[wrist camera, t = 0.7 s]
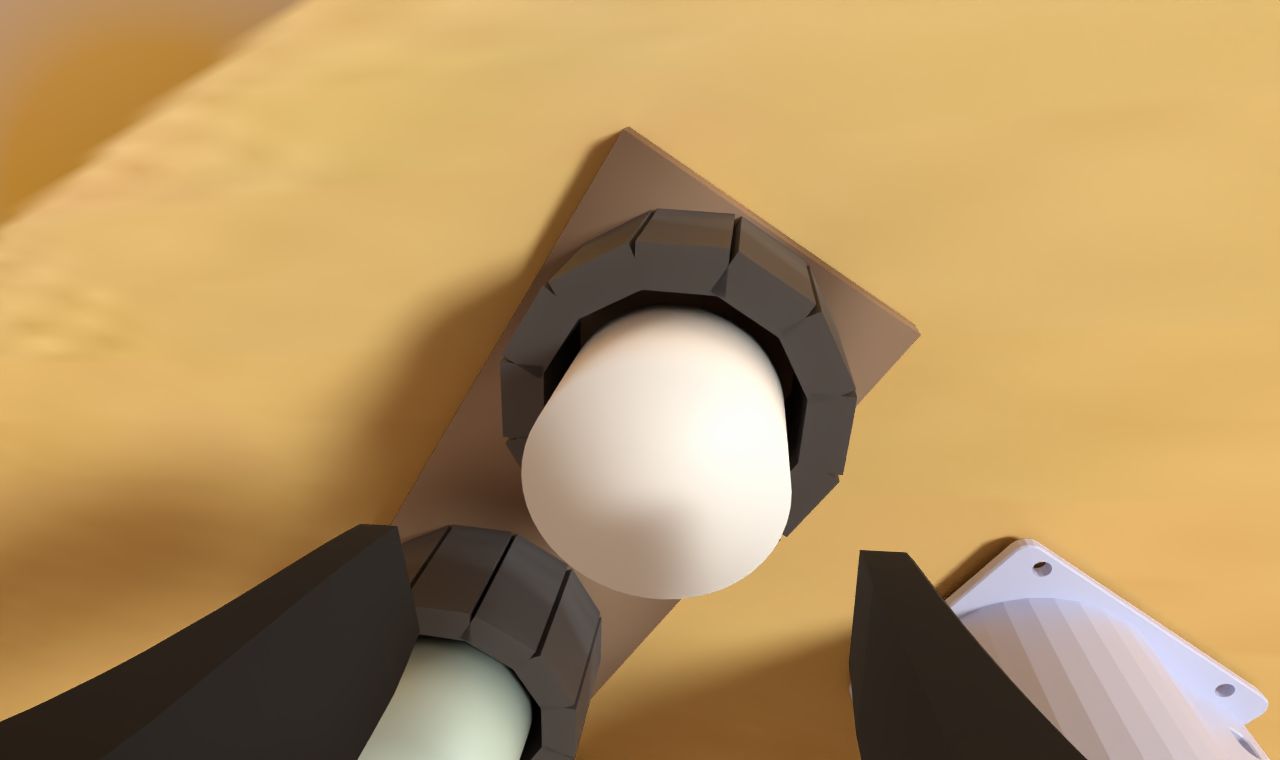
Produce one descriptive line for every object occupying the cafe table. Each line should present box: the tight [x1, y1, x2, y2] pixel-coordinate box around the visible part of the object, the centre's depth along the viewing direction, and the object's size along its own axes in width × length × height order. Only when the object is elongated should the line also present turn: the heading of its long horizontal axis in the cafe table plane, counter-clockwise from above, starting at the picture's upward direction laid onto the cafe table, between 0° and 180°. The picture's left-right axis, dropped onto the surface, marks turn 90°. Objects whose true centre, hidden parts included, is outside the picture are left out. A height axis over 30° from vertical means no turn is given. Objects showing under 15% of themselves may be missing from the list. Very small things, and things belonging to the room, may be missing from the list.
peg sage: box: [358, 635, 533, 760], centre depth 20 cm, size 5×5×4 cm
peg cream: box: [521, 304, 792, 599], centre depth 15 cm, size 5×5×4 cm
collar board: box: [390, 127, 921, 760], centre depth 20 cm, size 9×20×4 cm, turn 147°
